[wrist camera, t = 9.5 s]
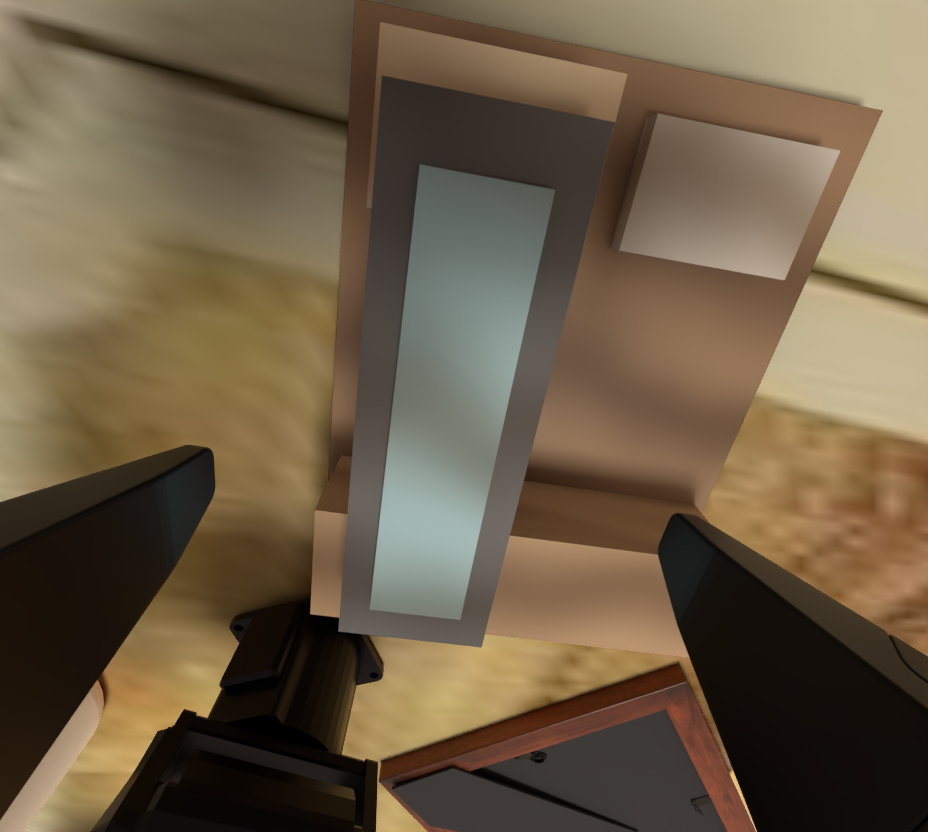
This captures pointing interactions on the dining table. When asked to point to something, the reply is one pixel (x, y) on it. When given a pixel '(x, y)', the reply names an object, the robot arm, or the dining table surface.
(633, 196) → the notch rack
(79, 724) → the wine bottle
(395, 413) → the picture frame
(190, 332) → the dining table surface
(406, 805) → the picture frame
